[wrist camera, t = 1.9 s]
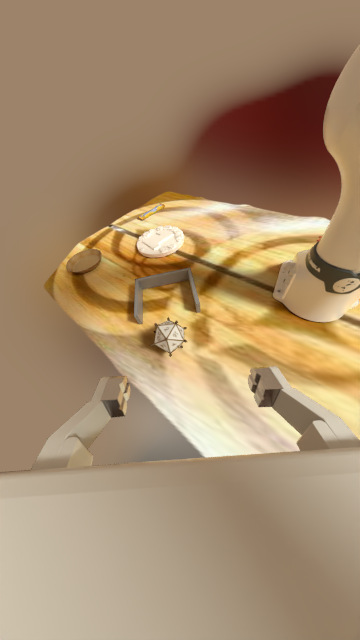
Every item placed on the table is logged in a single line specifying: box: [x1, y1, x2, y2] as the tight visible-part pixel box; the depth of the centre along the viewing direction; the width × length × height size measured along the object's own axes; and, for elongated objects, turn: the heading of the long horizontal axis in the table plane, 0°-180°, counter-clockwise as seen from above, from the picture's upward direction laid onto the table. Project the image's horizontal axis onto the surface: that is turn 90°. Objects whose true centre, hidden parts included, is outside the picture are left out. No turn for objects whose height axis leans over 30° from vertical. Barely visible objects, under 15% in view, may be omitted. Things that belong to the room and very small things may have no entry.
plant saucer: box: [66, 249, 101, 273], centre depth 68 cm, size 15×15×3 cm
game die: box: [151, 317, 187, 357], centre depth 39 cm, size 9×8×10 cm
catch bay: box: [134, 268, 200, 324], centre depth 49 cm, size 15×18×4 cm
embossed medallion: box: [137, 225, 184, 258], centre depth 68 cm, size 20×20×3 cm
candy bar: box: [138, 204, 165, 220], centre depth 86 cm, size 17×4×2 cm, turn 136°
